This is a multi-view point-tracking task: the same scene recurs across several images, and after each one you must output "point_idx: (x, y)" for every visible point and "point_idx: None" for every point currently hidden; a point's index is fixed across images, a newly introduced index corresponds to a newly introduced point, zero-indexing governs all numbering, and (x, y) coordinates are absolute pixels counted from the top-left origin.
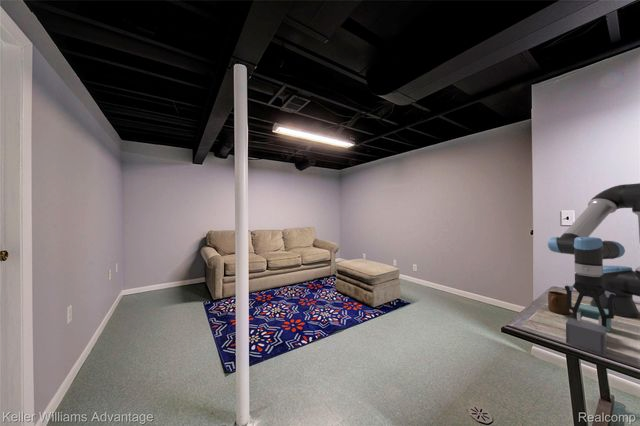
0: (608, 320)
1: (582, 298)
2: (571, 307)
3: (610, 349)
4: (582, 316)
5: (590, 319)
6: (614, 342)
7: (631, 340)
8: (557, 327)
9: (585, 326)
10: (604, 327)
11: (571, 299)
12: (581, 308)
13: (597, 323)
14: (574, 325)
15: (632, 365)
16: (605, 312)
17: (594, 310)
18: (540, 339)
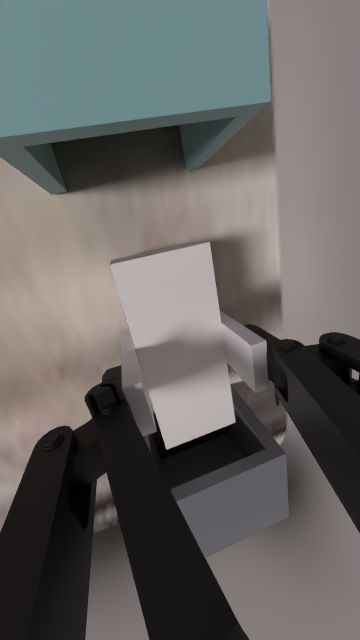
0: (228, 134)
1: (227, 609)
2: (96, 474)
3: (238, 382)
4: (113, 270)
5: (167, 286)
6: (234, 299)
7: (269, 191)
8: (52, 369)
9: (231, 529)
10: (281, 462)
11: (51, 569)
12: (40, 131)
13: (213, 327)
14: None
15: (284, 426)
16: (236, 39)
17: (152, 78)
18: (106, 524)
